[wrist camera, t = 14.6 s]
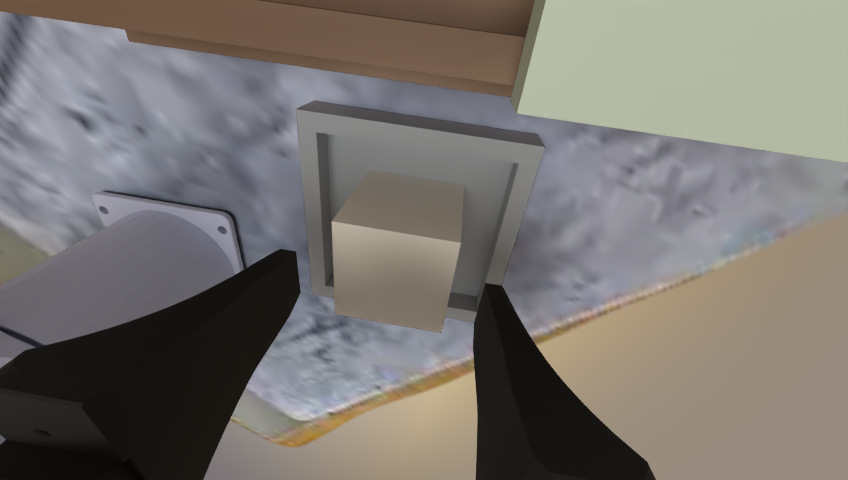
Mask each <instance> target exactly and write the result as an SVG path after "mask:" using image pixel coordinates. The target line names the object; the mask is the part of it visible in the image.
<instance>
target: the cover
mask: <svg viewBox="0 0 848 480" xmlns="http://www.w3.org/2000/svg"><path fill="white" fill-rule="evenodd" d="M511 103H512V105H513V107H514V109H515V111H516V113H517V114H523V115H530V116H537V117H544V118H550V119H557V120H564V121H571V122H577V123H584V124H591V125H598V126H604V127H611V128H618V129H625V130H631V131H638V132H645V133H652V134H658V135H665V136H672V137H679V138H685V139H692V140H699V141H706V142H712V143H719V144H726V145H733V146H739V147H746V148H753V149H759V150H766V151H773V152H780V153H786V154H793V155H800V156H807V157H813V158H820V159H827V160H834V161H840V162H847V163H848V0H535V1H534V5H533V10H532V14H531V18H530V22H529V26H528V30H527V34H526V39H525V43H524V47H523V51H522V55H521V59H520V63H519V67H518V72H517V76H516V80H515V84H514V88H513V92H512V96H511Z"/></svg>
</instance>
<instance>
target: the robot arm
mask: <svg viewBox="0 0 848 480" xmlns="http://www.w3.org/2000/svg"><path fill="white" fill-rule="evenodd" d="M92 201H93V203H94V205H95V207H96V209H97V212H98V214H99V216H100V218H101V220H102V222H103V224H104V226H105V228H103V229H101V230H100V231H98V232H96V233H94V234H92V235H90V236H89V237H87V238H85V239H83V240H81V241H79V242H78V243H76V244H74V245H72V246H70V247H68V248H67V249H65V250H63V251H61V252H59V253H57V254H56V255H54V256H52V257H50V258H48V259H46V260H45V261H43V262H41V263H39V264H37V265H36V266H34V267H32V268H30V269H28V270H26V271H25V272H23V273H21V274H19V275H17V276H15V277H14V278H12V279H10V280H8V281H6V282H4V283H3V284H1V285H0V480H203V479H204V476H205V474H206V471H207V469H208V467H209V464H210V462H211V459H212V457H213V455H214V453H215V450H216V448H217V446H218V444H219V441H220V439H221V437H222V435H223V433H224V430H225V428H226V426H227V424H228V422H229V420H230V418H231V416H232V414H233V412H234V410H235V407H236V405H237V403H238V401H239V399H240V397H241V395H242V393H243V391H244V389H245V388H246V386H247V384H248V382H249V380H250V378H251V376H252V374H253V372H254V371H255V369H256V367H257V366H258V364H259V363H260V361H261V359H262V358H263V356H264V355H265V353H266V352H267V350H268V349H269V347H270V346H271V344H272V342H273V341H274V339H275V338H276V336H277V335H278V333H279V332H280V330H281V328H282V327H283V325H284V324H285V322H286V321H287V319H288V317H289V316H290V314H291V312H292V310H293V308H294V306H295V303H296V301H297V299H298V297H299V294H300V284H299V275H298V266H297V257H296V252H295V251H289V250H283V249H279V250H277V251H276V252H274V253H272V254H270V255H268V256H267V257H265V258H263V259H261V260H260V261H258V262H256V263H255V264H253V265H251V266H249V267H248V268H246V269H244V268H243V263H242V259H241V254H240V250H239V246H238V241H237V237H236V232H235V228H234V223H233V220H232V218H231V216H230V215H229V214H227V213H225V212H222V211H216V210H210V209H204V208H198V207H192V206H186V205H180V204H174V203H168V202H162V201H156V200H150V199H144V198H138V197H132V196H126V195H120V194H114V193H107V192H98V193H95V194H93V195H92ZM223 227H224V228H226V230H225V229H224V228H223ZM473 352H474V367H475V379H476V393H477V409H478V410H477V411H478V428H477V462H476V480H656V479H655V477H654V475H653V473H652V471H651V469H650V467H649V465H648V463H647V461H645V460H644V459H643V458H642V457H641V456H640V455H639V454H637V453H636V452H635V451H634V450H633V449H631V448H630V447H629V446H628V445H627V444H626V443H625V442H623V441H622V440H621V439H620V438H619V437H618V436H616V435H615V434H614V433H613V432H612V431H611V430H610V429H609V428H608V427H607V426H605V424H603V423H602V422H601V421H600V420H599V419H598V418H597V417H596V416H595V415H594V414H593V413H592V412H591V411H590V410H589V409H588V408H587V407H586V406H585V405H584V404H583V403H582V402H581V400H580V399H579V398H578V397H577V396H576V395H575V394H574V393H573V392H572V391H571V390H570V389H569V387H568V386H567V385H566V384H565V383H564V382H563V381H562V379H561V378H560V377H559V376H558V375H557V373H556V372H555V371H554V370H553V368H552V367H551V366H550V364H549V363H548V362H547V361H546V359H545V358H544V356H543V355H542V353H541V352H540V351H539V349H538V348H537V346H536V345H535V343H534V342H533V340H532V339H531V337H530V335H529V334H528V332H527V330H526V329H525V327H524V325H523V324H522V322H521V320H520V319H519V317H518V315H517V313H516V311H515V310H514V308H513V306H512V304H511V302H510V300H509V298H508V296H507V294H506V292H505V290H504V288H503V287H502V286H501V285H495V284H489V283H485V286H484V289H483V293H482V296H481V300H480V303H479V307H478V310H477V314H476V318H475V321H474V338H473Z"/></svg>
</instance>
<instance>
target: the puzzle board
mask: <svg viewBox="0 0 848 480" xmlns="http://www.w3.org/2000/svg"><path fill="white" fill-rule="evenodd" d="M534 1H535V0H0V11H2V12H9V13H16V14H23V15H30V16H37V17H44V18H51V19H58V20H65V21H71V22H78V23H85V24H92V25H99V26H106V27H113V28H120V29H125V30H126V33H127V37H128V40H129V41H131V42H138V43H144V44H151V45H158V46H165V47H172V48H179V49H185V50H192V51H199V52H206V53H213V54H220V55H226V56H233V57H240V58H247V59H254V60H261V61H267V62H274V63H281V64H288V65H295V66H302V67H308V68H315V69H322V70H329V71H336V72H343V73H349V74H356V75H363V76H370V77H377V78H384V79H390V80H397V81H404V82H411V83H418V84H425V85H431V86H438V87H445V88H452V89H459V90H466V91H472V92H479V93H486V94H493V95H500V96H507V97H511V96H512V92H513V88H514V84H515V80H516V76H517V72H518V67H519V63H520V59H521V55H522V51H523V47H524V43H525V39H526V34H527V30H528V26H529V22H530V18H531V14H532V10H533V5H534Z"/></svg>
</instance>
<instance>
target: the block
mask: <svg viewBox="0 0 848 480" xmlns="http://www.w3.org/2000/svg"><path fill="white" fill-rule="evenodd" d="M463 197H464V185H462V184H456V183H450V182H444V181H437V180H431V179H425V178H419V177H412V176H406V175H400V174H394V173H388V172H381V171H375V170H369V171H368V172H367V173H366V175H365V176H364V177H363V179H362V180H361V182H360V183H359V184H358V186H357V187H356V188H355V190H354V191H353V193H352V194H351V195H350V197H349V198H348V200H347V201H346V202H345V204H344V205H343V206H342V208H341V209H340V211H339V212H338V213H337V215H336V216H335V217H334V219H333V220H332V244H333V271H334V297H335V314H338V315H343V316H349V317H355V318H360V319H366V320H371V321H377V322H383V323H388V324H394V325H399V326H405V327H411V328H416V329H422V330H428V331H433V332H439V333H442V328H443V324H444V319H445V314H446V310H447V305H448V301H449V296H450V291H451V287H452V282H453V277H454V273H455V268H456V263H457V259H458V254H459V250H460V245H461V232H462V215H463Z"/></svg>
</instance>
